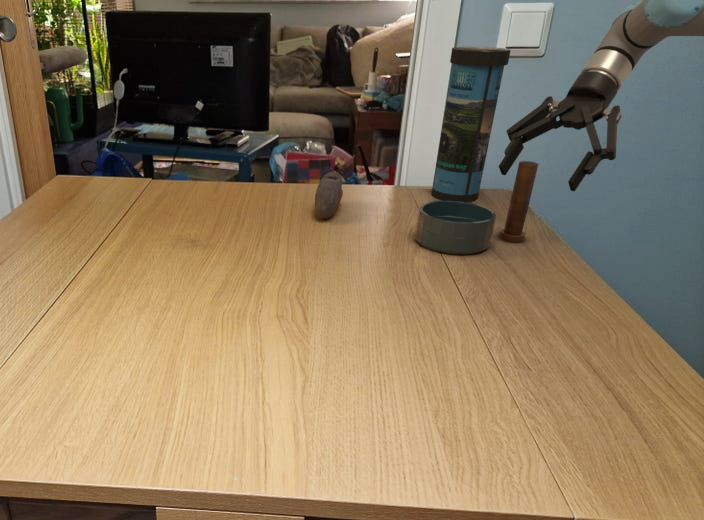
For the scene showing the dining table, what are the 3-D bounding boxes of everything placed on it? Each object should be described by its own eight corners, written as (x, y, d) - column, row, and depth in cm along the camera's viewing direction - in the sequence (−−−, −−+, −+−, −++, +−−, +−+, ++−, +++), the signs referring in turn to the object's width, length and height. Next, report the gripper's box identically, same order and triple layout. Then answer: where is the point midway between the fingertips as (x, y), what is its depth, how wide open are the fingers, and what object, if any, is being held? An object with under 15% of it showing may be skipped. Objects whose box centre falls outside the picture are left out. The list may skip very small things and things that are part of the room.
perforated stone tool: (332, 225, 131) (335, 190, 127) (306, 222, 132) (308, 188, 129) (344, 203, 143) (347, 171, 140) (320, 201, 145) (322, 169, 141)
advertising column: (482, 192, 151) (512, 48, 136) (477, 205, 142) (508, 53, 127) (432, 186, 155) (455, 45, 140) (424, 199, 146) (448, 50, 131)
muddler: (529, 240, 124) (547, 164, 117) (511, 243, 122) (529, 167, 115) (510, 233, 127) (527, 159, 120) (493, 236, 126) (510, 161, 119)
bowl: (504, 249, 120) (512, 216, 117) (448, 260, 115) (455, 227, 112) (453, 227, 130) (459, 197, 127) (399, 237, 125) (404, 206, 122)
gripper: (672, 106, 116) (606, 206, 116) (538, 89, 133) (480, 176, 133) (669, 76, 111) (600, 180, 110) (530, 62, 128) (470, 153, 127)
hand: (535, 178), depth 122 cm, fingers open, 13 cm apart
